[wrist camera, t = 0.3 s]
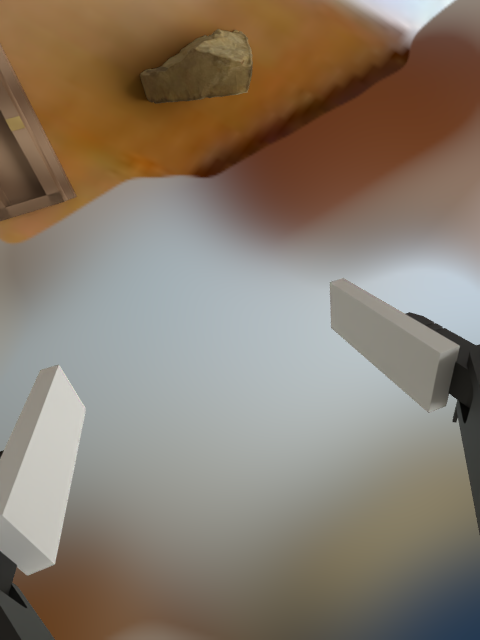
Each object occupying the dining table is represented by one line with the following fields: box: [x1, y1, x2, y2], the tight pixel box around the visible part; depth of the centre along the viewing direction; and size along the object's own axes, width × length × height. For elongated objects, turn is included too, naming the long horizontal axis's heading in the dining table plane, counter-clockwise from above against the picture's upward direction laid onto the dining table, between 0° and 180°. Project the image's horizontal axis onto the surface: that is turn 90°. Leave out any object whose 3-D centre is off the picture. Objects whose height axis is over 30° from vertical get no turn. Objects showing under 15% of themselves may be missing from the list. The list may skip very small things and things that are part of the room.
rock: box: [140, 29, 253, 103], centre depth 29 cm, size 11×9×10 cm
